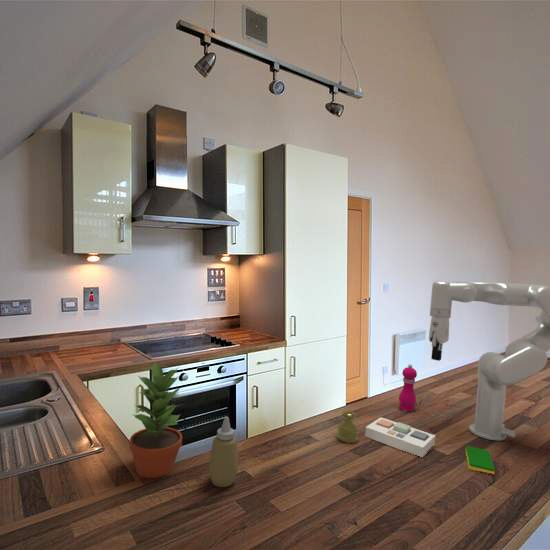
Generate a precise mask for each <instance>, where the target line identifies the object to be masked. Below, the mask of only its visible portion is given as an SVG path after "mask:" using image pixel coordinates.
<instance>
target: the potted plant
mask: <svg viewBox="0 0 550 550" xmlns="http://www.w3.org/2000/svg"><path fill="white" fill-rule="evenodd" d="M150 367H151V368H150V369H151V375H152V379H150V378H148V377H146V376H140V375H138V377H139V381H141V382H142V383H143V384H144V385H145V386H146V387H147V388H144V387H141V389H142V390H141V391H140V392H139V391H138V393H139V394H142V395H143V396H145V398H146V400H147V401H148V402H149V404H150V405H151V408H149V407H147V406H146V405H143V404H139V405H136V404H134V406H135V407H137V408H138V409H139V410H141V411H143V412H144V413H146V414H147V415H146V414H143V413H139V414H134V413H133V414H132V413H131V414H132V416H134V418H135V419H137V420H139V421H141V423H142V425H143V426H144V428H143V429H140V430H138V431H136V432H134V433H133V434H132V435H131V436H130V438H129V445H128V446H129V449H130V452H131V453H132V458H133V461H134V462H133V464H134V467H135V470H136V473H137V474H138V475H139V476H140V477H142V478H143V477H144V478H148V479H154V478H160V477H164V476H166V475H168V474H170V473H171V472H172V470H173V469H174V467H175V466H174V465H175V462H176V459H177V456H178V454H179V450H180V449H181V447H183V434H182V432H181V431H179V430H177V429H176V428H174V427H173V428H172V427H169V426H174V425H178V421H177V420H179V418H180V416H181V415H182V414H181V413H180V414H177V415H176V414H172V412H173V411H174V410H175V408H176V407H177V405H176V404H175V403H173V404H172V405H168V404H169V402H170V400H172V398H173V397H174V396H175V395H176V394H177V393H178V392H179V391H180V389H181V387H179V388H176V389H175V390H173V391H169V389H170V387H172V385H174V384H175V383H176V381H178V378H179V377H180V375H178V376H176V377H173V376H174V375H175V374H176V373H177V371H178V369H179V367H177V368H176V369H170V370H169V371H167V373H164V371H163V369H162V366H161V365H160V364H157V363H156V361H155V360H154V362H153V365H151V366H150ZM164 374H165V375H164ZM148 415H149V416H148ZM150 416H151V417H150Z"/></svg>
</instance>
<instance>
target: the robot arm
mask: <svg viewBox="0 0 550 550" xmlns="http://www.w3.org/2000/svg"><path fill="white" fill-rule="evenodd" d="M453 301H454V302H461V303H466V304H467V303H471V302H482V303H488V304H493V305H497V306H498V305H499V306H514V307H515V306H516V307H532V308H537V309H541V311H540V313H539V320H538V324H537V326H536V328H535V329H533V330H532V331H531V332H529V333H527V334H525V335H523V336H520V337H519V338H518V339H515V340H514V341H511V342H510V343H508V345H506V347H505V350H504V352H505V355H506V356H504V355H502V354H500V353H498V352H494V351H488V352H486V353H483V354H482V355H481V356H480V357H479V359H478V362H477V375H478V377H477V378H478V379H477V392H476V400H475V402H476V405H475V415H474V423H472V424H469V431H470V432H471V433H472V434H474V435H475V436H477V437H480V438H482V439H486V440H489V441H490V440H491V441H497V442H498V441H499V442H500V441H505V440H506V439H507V436H508V437H510V438H513V439H515V437H516V432H514V431H513V430H512V429H508V428H506V427H505V423H504V414H505V413H504V412H505V404H506V397H507V395H506V393H507V386H510V385H514V384H516V383H519V382H521V381H522V380H524V379H527V378H529V377H530V376H532V375H535V374H536V373H538V372H539V371H541V370H542V369H544V367H545V366H546V364H547V362H548V354H547V352H548V351H550V286H549V285H542V284H541V285H540V284H535V283H534V284H531V283H514V282H513V283H511V282H510V283H509V282H473V281H472V282H471V281H454V282H450V281H449V282H448V281H441V280H439V281H438V280H435V281H434V282H433V283H432V286H431V297H430V310H429V317H431V318H430V319H431V320H430V325H429V326H430V327H429V331H428V332H429V333H428V340H429V342H430V343H431V346H432V347H431V348H432V349H431V360H434V361H439V362H440V361H441V360H442V353H443V351H442V350H443V345H444V344H445V343H448V341H449V338H450V337H449V336H450V319H451V315H452V307H453Z"/></svg>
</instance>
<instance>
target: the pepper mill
mask: <svg viewBox="0 0 550 550" xmlns="http://www.w3.org/2000/svg"><path fill="white" fill-rule="evenodd" d="M417 375H418V372H417V370H416V369H415V368H413V365H412V364H411V363H409V364H407V367H404V368H403V370H402V376H403V378H402V381H403V387H402V390H401V391H400V393H399V395H398V401H399V402H400V403H398V405H399V406H398V408H399V409H400V410H401V409H403V410H406V411H405V412H408V411H412V412H414V410H415V404H416V402H417V397H416V394H415V391H414V384H415V383H416V380H415V379H416V378H417ZM403 410H402V411H403Z"/></svg>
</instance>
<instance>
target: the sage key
mask: <svg viewBox="0 0 550 550" xmlns="http://www.w3.org/2000/svg"><path fill="white" fill-rule="evenodd" d="M393 430H394V431H397V432H400V433H403V434H405V435H407V434H408V433H409V432H410V430H411V425H409V424H405V423H402V422H397V424H395V425H394V426H393Z"/></svg>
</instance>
